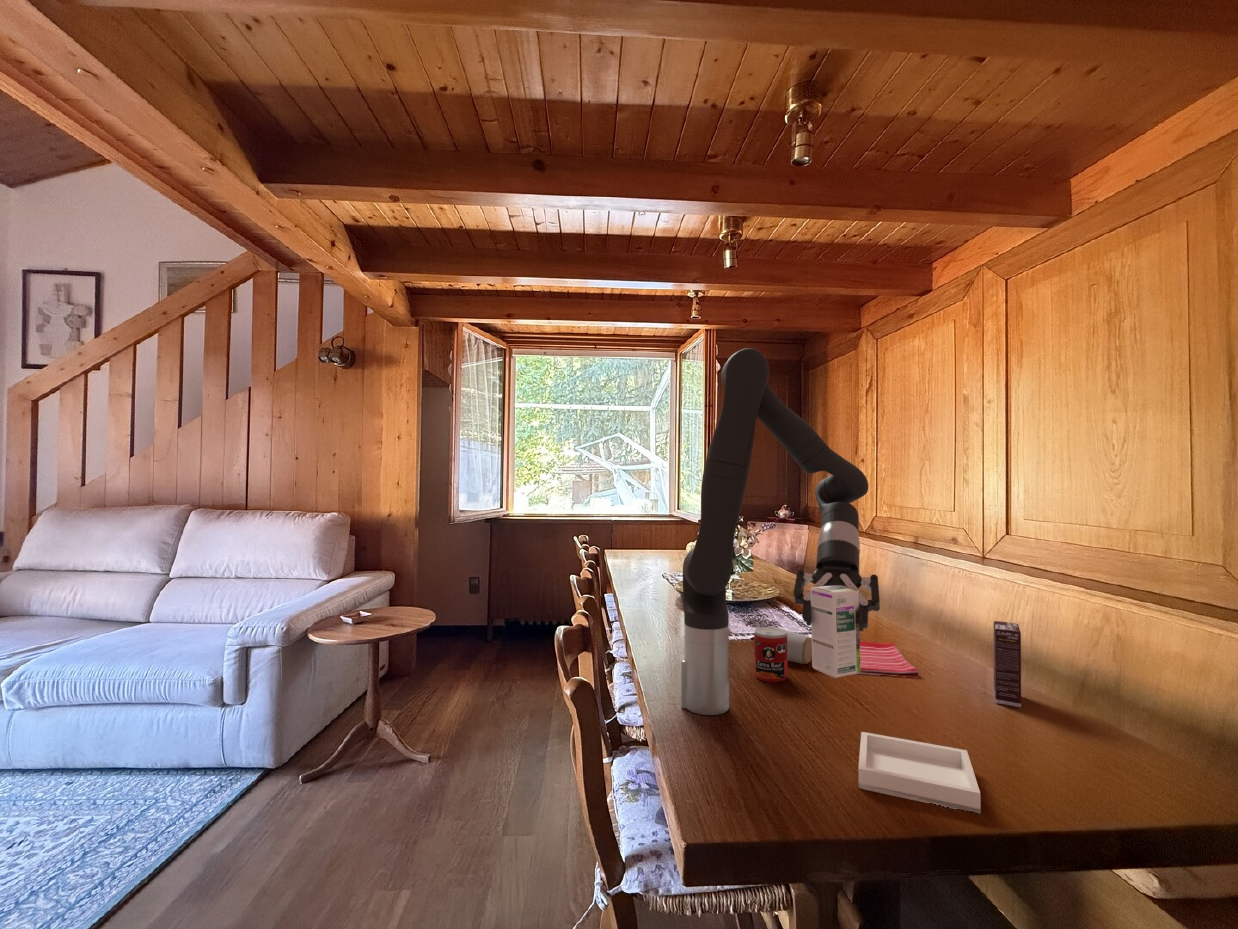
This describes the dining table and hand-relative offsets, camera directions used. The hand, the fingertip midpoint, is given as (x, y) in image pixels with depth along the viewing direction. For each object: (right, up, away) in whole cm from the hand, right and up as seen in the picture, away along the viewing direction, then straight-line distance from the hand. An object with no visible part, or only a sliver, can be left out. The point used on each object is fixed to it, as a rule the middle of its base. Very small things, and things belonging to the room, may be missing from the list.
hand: (834, 625), depth 96 cm
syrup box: (+1, -8, +1) cm, 9 cm away
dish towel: (+30, -25, +52) cm, 65 cm away
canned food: (0, -24, +39) cm, 46 cm away
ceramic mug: (+10, -24, +52) cm, 58 cm away
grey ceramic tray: (+10, -22, -7) cm, 26 cm away
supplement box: (+47, -24, +26) cm, 59 cm away
